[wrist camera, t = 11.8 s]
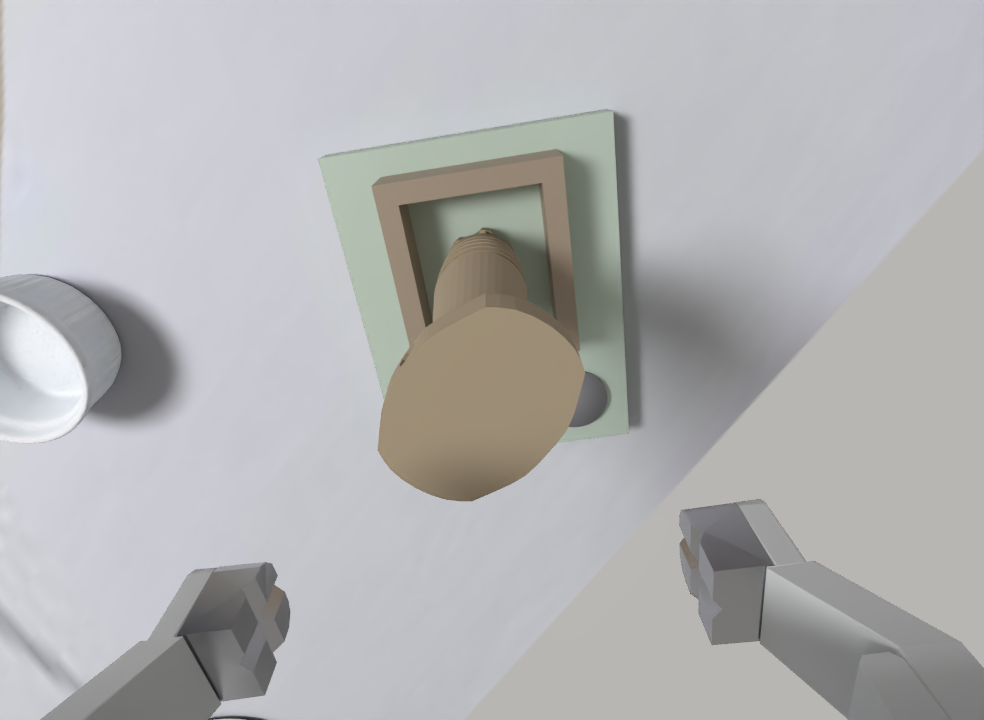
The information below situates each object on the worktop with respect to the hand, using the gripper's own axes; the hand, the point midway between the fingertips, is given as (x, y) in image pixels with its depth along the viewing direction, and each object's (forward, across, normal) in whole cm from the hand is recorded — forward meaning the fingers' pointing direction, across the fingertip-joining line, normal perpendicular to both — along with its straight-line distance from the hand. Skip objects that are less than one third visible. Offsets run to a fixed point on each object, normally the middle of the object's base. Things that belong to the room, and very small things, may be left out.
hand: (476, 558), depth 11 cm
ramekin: (+22, -25, -1) cm, 33 cm away
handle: (+20, 0, 0) cm, 20 cm away
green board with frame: (+22, 0, -2) cm, 22 cm away
